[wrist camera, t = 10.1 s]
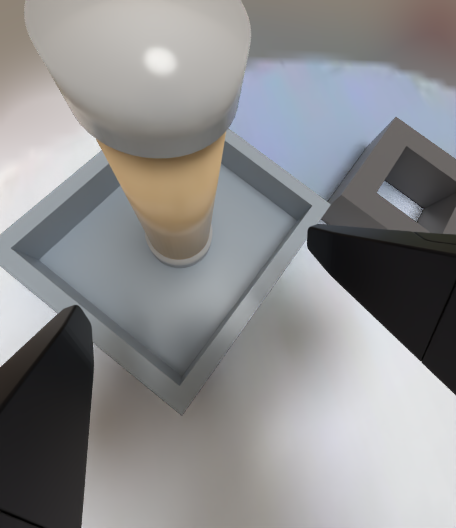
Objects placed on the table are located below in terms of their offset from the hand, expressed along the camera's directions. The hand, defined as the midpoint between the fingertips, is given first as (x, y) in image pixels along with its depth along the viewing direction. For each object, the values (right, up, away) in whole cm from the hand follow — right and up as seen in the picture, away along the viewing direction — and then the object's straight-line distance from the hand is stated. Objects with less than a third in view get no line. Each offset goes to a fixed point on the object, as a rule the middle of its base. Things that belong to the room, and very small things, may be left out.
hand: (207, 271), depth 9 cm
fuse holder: (+15, +5, +13) cm, 20 cm away
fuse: (-3, +2, +8) cm, 9 cm away
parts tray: (-3, +2, +9) cm, 10 cm away
